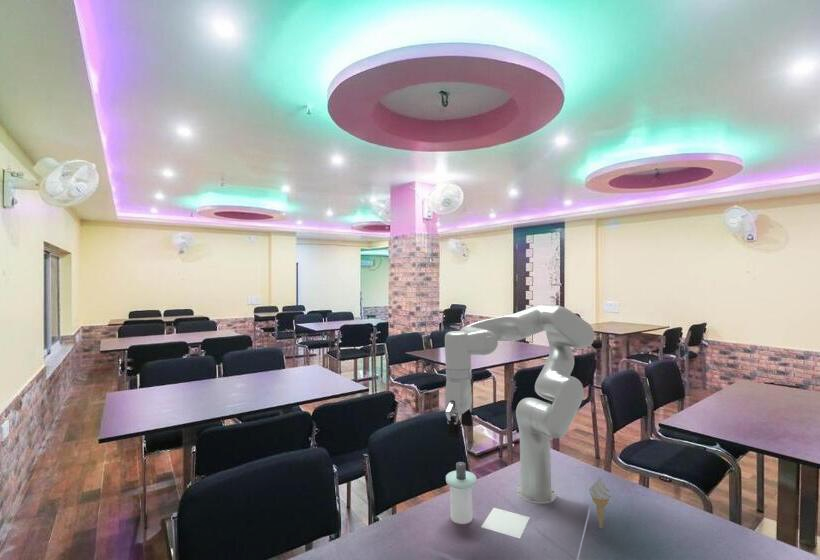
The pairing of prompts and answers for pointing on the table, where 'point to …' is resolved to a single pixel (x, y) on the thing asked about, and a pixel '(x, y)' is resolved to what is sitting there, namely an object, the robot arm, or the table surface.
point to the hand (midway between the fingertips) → (460, 431)
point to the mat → (506, 522)
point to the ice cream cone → (600, 498)
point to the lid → (461, 477)
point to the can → (461, 505)
